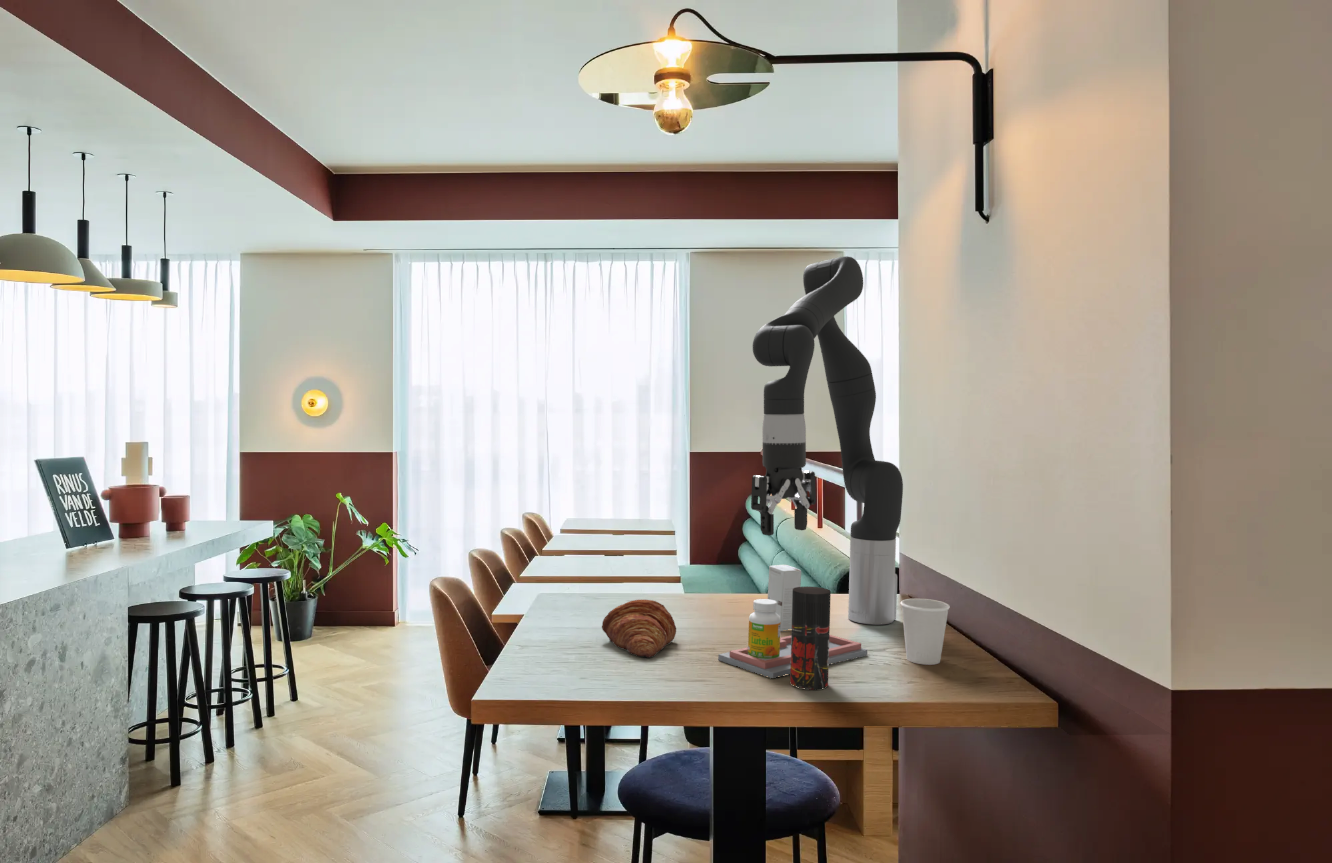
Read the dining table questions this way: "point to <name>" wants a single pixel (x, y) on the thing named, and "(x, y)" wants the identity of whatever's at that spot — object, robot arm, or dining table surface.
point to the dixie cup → (924, 629)
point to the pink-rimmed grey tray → (782, 665)
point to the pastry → (640, 627)
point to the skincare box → (783, 591)
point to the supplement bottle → (764, 630)
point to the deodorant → (810, 637)
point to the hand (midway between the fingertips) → (784, 532)
